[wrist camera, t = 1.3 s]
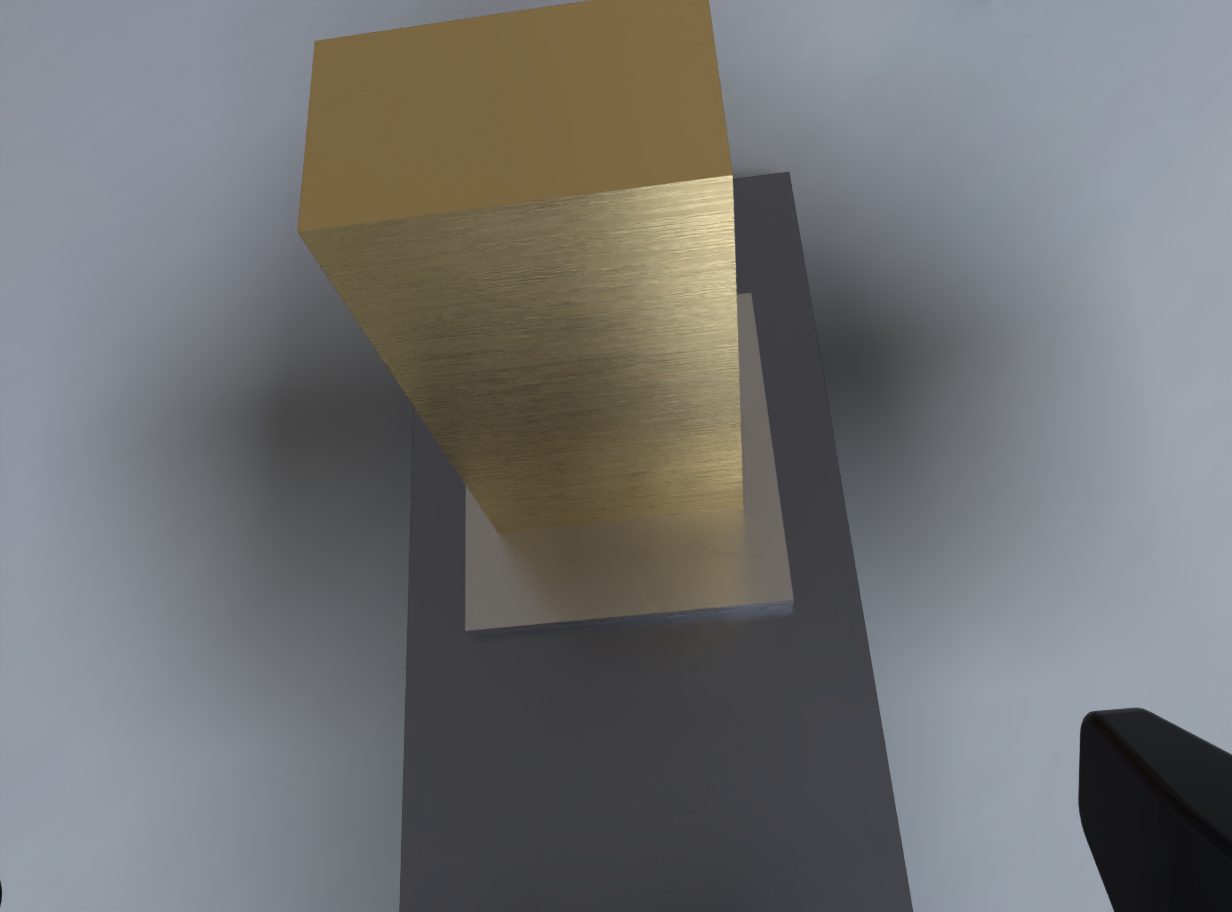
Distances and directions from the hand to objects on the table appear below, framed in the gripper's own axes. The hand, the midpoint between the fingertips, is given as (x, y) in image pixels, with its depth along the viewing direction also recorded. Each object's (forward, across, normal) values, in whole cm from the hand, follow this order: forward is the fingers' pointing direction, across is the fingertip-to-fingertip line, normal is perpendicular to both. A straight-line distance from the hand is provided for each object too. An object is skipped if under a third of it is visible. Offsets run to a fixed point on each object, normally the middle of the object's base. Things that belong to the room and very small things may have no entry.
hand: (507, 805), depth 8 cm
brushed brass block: (+13, 0, +2) cm, 13 cm away
